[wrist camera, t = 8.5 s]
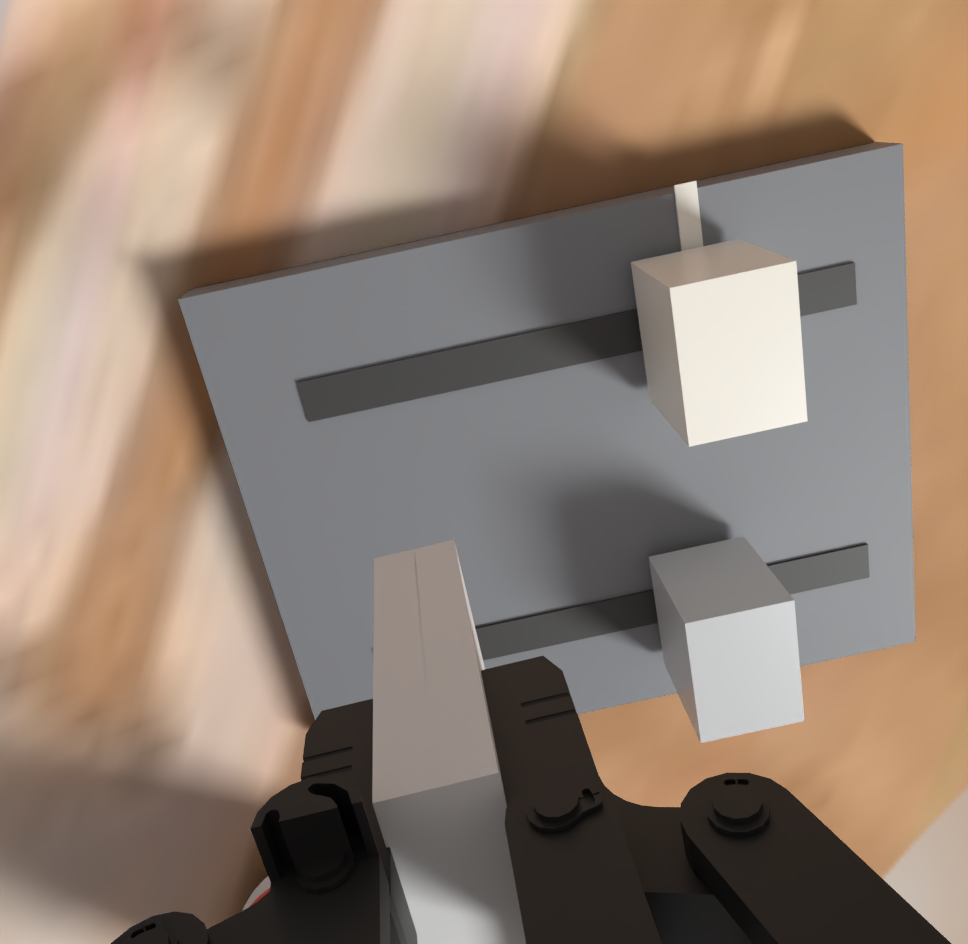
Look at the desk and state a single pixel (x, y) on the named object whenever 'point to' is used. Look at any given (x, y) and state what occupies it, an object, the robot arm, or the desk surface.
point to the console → (569, 428)
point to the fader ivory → (722, 340)
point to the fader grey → (728, 638)
